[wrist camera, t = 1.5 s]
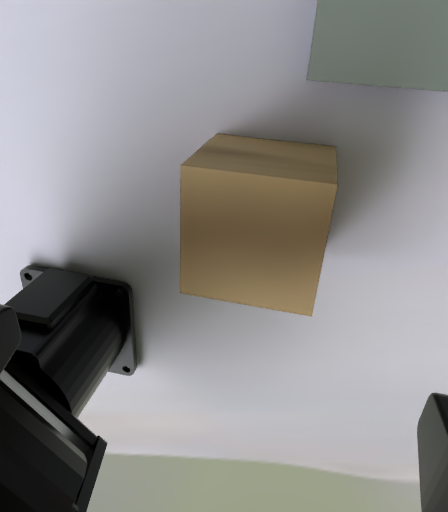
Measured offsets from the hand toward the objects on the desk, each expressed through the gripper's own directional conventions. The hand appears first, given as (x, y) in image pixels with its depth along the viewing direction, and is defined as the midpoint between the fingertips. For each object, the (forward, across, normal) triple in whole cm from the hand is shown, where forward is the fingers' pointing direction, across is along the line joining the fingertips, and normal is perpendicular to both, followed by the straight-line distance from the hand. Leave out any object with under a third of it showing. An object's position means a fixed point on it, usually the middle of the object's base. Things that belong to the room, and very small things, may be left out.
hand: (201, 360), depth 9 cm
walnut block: (+11, 0, 0) cm, 11 cm away
